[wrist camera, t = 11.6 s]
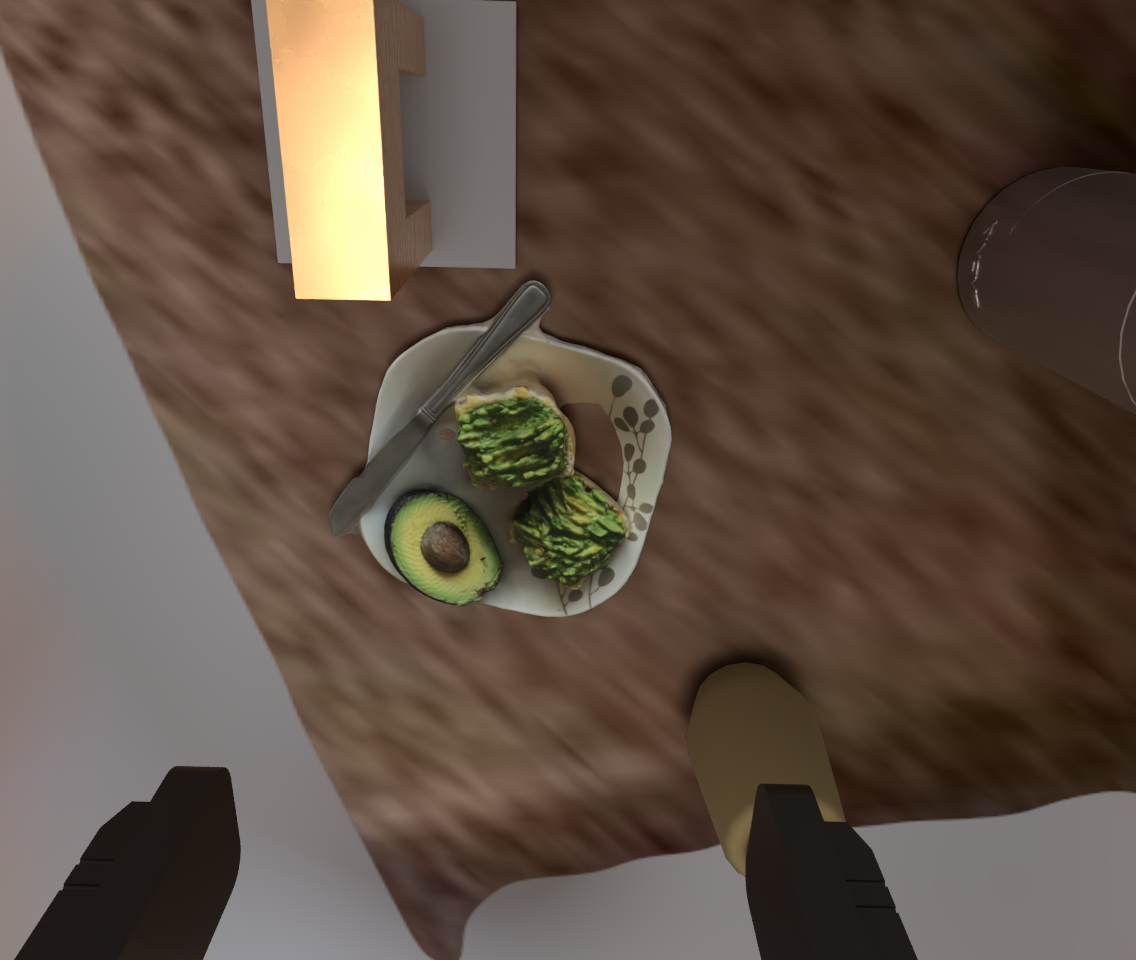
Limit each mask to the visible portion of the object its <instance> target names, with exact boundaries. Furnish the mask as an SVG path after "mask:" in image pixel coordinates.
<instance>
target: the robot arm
mask: <svg viewBox="0 0 1136 960" xmlns="http://www.w3.org/2000/svg"><path fill="white" fill-rule="evenodd" d="M957 279H958V288H959V296H960V298H961V301H962V304H963V307H964V309H965V312H966V313H967V315H968V316H969V318H970V319H971V320H972V322H973V323H974V325H975V326H976V327H977V328H979V329H980V330H981V331H982V332H983V333H984V334H985V335H987V336H988V337H990V338H992V339H994V340H996V341H998V342H1000V343H1001V344H1003V345H1005V346H1007V347H1009V348H1011V349H1013V350H1015V351H1016V352H1018V353H1020V354H1022V355H1024V356H1026V357H1027V358H1029V359H1031V360H1033V361H1035V362H1036V363H1038V364H1040V365H1042V366H1044V367H1046V368H1048V369H1050V370H1052V371H1054V372H1056V373H1057V374H1059V375H1061V376H1063V377H1065V378H1067V379H1069V380H1071V381H1073V382H1075V383H1077V384H1078V385H1080V386H1082V387H1084V388H1086V389H1088V390H1090V391H1092V392H1094V393H1096V394H1097V395H1099V396H1101V397H1103V398H1105V399H1107V400H1109V401H1111V402H1113V403H1115V404H1117V405H1118V406H1120V407H1122V408H1124V409H1126V410H1128V411H1130V412H1132V413H1134V414H1136V174H1130V173H1125V172H1116V171H1107V170H1098V169H1089V168H1080V167H1056V168H1051V169H1045V170H1040V171H1038V172H1035V173H1033V174H1030V175H1028V176H1025V177H1023V178H1021V179H1019V180H1018V181H1016V182H1014V183H1013V184H1011V185H1010V186H1008V187H1006V188H1005V189H1003V190H1002V191H1001V192H1000V193H999V194H998V195H997V196H996V197H995V198H994V199H992V200H991V201H990V202H989V203H988V204H987V205H986V207H985V208H984V209H983V211H982V212H981V213H980V214H979V216H978V217H977V218H976V220H975V221H974V223H973V225H972V227H971V229H970V231H969V232H968V234H967V236H966V238H965V241H964V244H963V247H962V251H961V254H960V257H959V265H958V275H957ZM240 847H241V846H240V837H239V831H238V823H237V816H236V809H235V802H234V797H233V789H232V783H231V776H230V773H229V771H228V769H227V768H224V767H192V766H191V767H190V766H175V767H173V768H172V769H171V770H170V771H169V772H168V774H167V775H166V777H165V778H164V780H163V781H162V783H161V785H160V786H159V788H158V790H157V791H156V793H155V795H154V796H153V798H152V800H151V801H150V802H134V801H132V802H131V803H130V804H128V805H127V806H126V807H125V808H123V809H122V810H121V811H120V812H119V813H117V814H116V815H115V816H114V817H113V818H111V819H110V820H109V821H108V822H107V823H105V824H104V825H103V826H102V827H101V828H100V829H99V830H98V832H97V834H96V835H95V837H94V838H93V840H92V841H91V843H90V844H89V846H88V847H87V849H86V850H85V852H84V853H83V855H82V857H81V858H80V863H79V865H76V866H75V867H74V869H73V870H72V872H71V873H70V875H69V877H68V878H67V880H66V881H65V883H64V887H63V890H60V891H59V892H58V893H57V895H56V897H55V898H54V899H53V901H52V903H51V904H50V906H49V907H48V909H47V910H46V912H45V914H44V915H43V916H42V918H41V920H40V921H39V922H38V924H37V926H36V927H35V929H34V930H33V932H32V933H31V935H30V936H29V938H28V939H27V941H26V942H25V944H24V946H23V947H22V949H21V950H20V952H19V953H18V955H17V956H16V958H15V959H14V960H203V958H204V956H205V953H206V951H207V949H208V946H209V944H210V942H211V939H212V937H213V935H214V932H215V930H216V928H217V925H218V923H219V921H220V918H221V916H222V914H223V911H224V909H225V907H226V905H227V902H228V900H229V898H230V895H231V893H232V890H233V888H234V885H235V881H236V878H237V875H238V870H239V864H240V853H241V852H240V851H241V848H240ZM745 877H746V891H747V898H748V903H749V908H750V913H751V917H752V921H753V925H754V930H755V934H756V939H757V943H758V947H759V951H760V956H761V960H918V959H917V957H916V954H915V952H914V950H913V947H912V945H911V943H910V940H909V938H908V935H907V933H906V930H905V928H904V926H903V923H902V921H901V918H900V916H899V914H898V913H896V910H895V907H896V906H895V904H894V902H893V899H892V897H891V895H890V892H889V890H888V887H885V880H884V878H883V875H882V873H881V870H880V868H879V866H878V863H877V861H876V858H875V856H874V853H873V851H872V849H871V848H870V847H869V846H868V845H867V844H866V843H865V842H864V840H863V839H862V838H861V837H860V836H859V835H858V834H857V833H856V832H855V830H854V829H853V828H852V827H851V826H850V825H849V824H848V823H847V822H831V821H824V819H823V817H822V814H821V811H820V809H819V806H818V803H817V800H816V798H815V795H814V792H813V790H812V788H811V787H810V786H809V785H803V784H765V783H761V784H759V785H758V787H757V791H756V796H755V802H754V809H753V815H752V822H751V828H750V835H749V841H748V848H747V854H746V865H745Z"/></svg>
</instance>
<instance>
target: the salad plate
mask: <svg viewBox="0 0 1136 960" xmlns="http://www.w3.org/2000/svg"><path fill="white" fill-rule="evenodd" d="M551 299H552V297H551V294H550V292H549V290H548V288H547V287H546V286H545V285H543V284H542V283H541V282H539V281H537V280H531V281H528V282H525V283H524V284H523V285H522V286H521V287H520V288H519V289H518V290H517V291H516V293H515V294H514V295H513V296H512V297H511V298H510V300H509V301H508V302H507V303H506V305H505V306H504V307H503V308H502V309H501V311H500V312H499V313H498V314H496V315H495V316H494V317H493V318H492V319H490V320H488V321H485V322H483V323H474V324H470V325H458V326H453V327H446V328H445V329H442V330H440V331H438V332H437V333H434V334H432V335H430V336H428V337H426V338H424V339H423V340H421V341H419V342H418V343H416V344H415V345H413V346H412V347H410V348H409V349H408V350H406V351H404V352H403V353H402V354H400V355H399V356H398V357H397V359H396V360H395V361H394V362H393V363H392V364H391V365H390V367H389V368H388V370H387V372H386V374H385V377H384V380H383V383H382V385H381V388H380V391H379V395H378V399H377V403H376V410H375V416H374V422H373V426H372V432H371V436H370V443H369V451H368V461H367V464H366V467H365V469H364V471H363V472H362V474H360V475H359V476H358V477H356V478H353V479H352V480H351V481H350V483H349V484H348V485H347V486H346V488H345V489H344V490H343V492H342V493H341V495H340V497H339V498H338V499H337V501H336V503H335V504H334V506H333V508H332V510H331V512H330V514H329V516H328V520H329V524H330V526H331V531H332V536H340V537H343V536H345V535H346V534H348V533H351V534H356V535H358V536H359V537H360V538H361V539H362V540H363V541H364V543H365V544H366V545H367V547H368V548H369V549H370V551H371V553H372V554H373V556H374V557H375V558H376V560H377V561H378V562H379V563H380V564H381V565H382V567H383V568H385V569H386V570H387V571H388V572H389V573H390V574H392V575H393V576H395V577H396V578H398V579H399V580H401V581H402V582H404V583H407V584H409V585H410V586H412V587H413V588H414V589H415V590H417V591H418V592H420V593H422V594H423V595H425V596H427V597H429V598H431V599H434V600H436V601H439V602H443V603H446V604H451V605H459V606H464V605H468V604H469V603H471V602H475V603H479V604H486V605H492V606H495V607H497V608H501V609H508V610H513V611H517V612H521V613H526V614H531V615H538V616H546V617H569V616H574V615H578V614H581V613H583V612H586V611H589V610H591V609H593V608H594V607H596V606H597V605H599V604H601V603H602V602H604V601H606V600H607V599H608V598H610V597H611V596H613V595H615V594H616V593H617V592H618V591H619V590H620V589H621V588H622V587H623V586H624V585H625V584H626V583H627V580H628V579H629V577H630V575H631V574H632V572H633V571H634V569H635V567H636V565H637V562H638V559H639V556H640V554H641V551H642V549H643V545H644V542H645V540H646V536H647V532H648V528H649V524H650V520H651V517H652V514H653V511H654V508H655V505H656V501H657V497H658V493H659V490H660V488H661V485H662V484H663V482H664V473H665V471H666V466H667V461H668V455H669V451H670V446H671V441H672V435H671V426H670V423H669V420H668V416H667V410H666V405H665V403H664V402H663V401H662V399H661V398H660V396H659V394H658V393H657V391H656V389H655V387H654V386H653V385H652V383H651V381H650V380H649V378H648V376H647V375H646V373H645V372H644V371H643V370H642V369H641V368H639V367H637V366H635V365H633V364H631V363H629V362H627V361H625V360H622V359H619V358H616V357H613V356H610V355H607V354H604V353H602V352H599V351H597V350H594V349H590V348H588V347H585V346H581V345H576V344H572V343H568V342H564V341H561V340H559V339H557V338H555V337H552V336H550V335H548V334H546V333H543V332H542V331H541V329H540V327H539V325H540V321H541V318H542V317H543V315H544V314H545V313H546V312H547V311H548V310H549V308H550V304H551ZM568 403H596V404H600V405H601V406H602V408H603V409H604V411H605V412H606V413H607V415H608V416H609V417H610V419H611V421H612V423H613V425H614V427H615V429H616V433H617V435H618V438H619V440H620V443H621V447H622V454H623V464H624V469H623V477H622V483H621V489H620V494H619V497H618V500H617V502H616V501H615V500H614V499H613V498H612V497H611V496H609V495H608V494H607V493H606V492H605V491H603V490H602V489H601V488H600V487H599V486H597V485H596V484H595V483H594V482H593V481H591V480H590V479H588V478H587V477H586V476H584V475H583V474H581V473H579V472H577V471H576V470H574V459H575V443H576V441H575V434H574V429H573V427H572V425H571V423H570V421H569V420H568V418H567V417H566V416H565V415H564V414H563V413H562V412H561V410H560V408H561V407H562V406H563V405H565V404H568ZM444 429H451V430H453V431H454V432H455V437H454V438H453V439H452V440H450V441H445V440H443V439H441V438H440V432H441V431H442V430H444ZM527 492H528V493H529V497H528V498H527V499H526V500H525V501H521V497H522V495H523V494H525V493H527Z"/></svg>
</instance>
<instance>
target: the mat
mask: <svg viewBox="0 0 1136 960" xmlns="http://www.w3.org/2000/svg"><path fill="white" fill-rule="evenodd" d="M399 1H401V2H402V3H404V4H405V5H407V6H408V7H409V8H411V9H412V10H414V11H415V12H416V13H418V14H419V15H421V16H422V17H423V18H424V35H425V61H426V76H424V75H399V91H400V112H401V132H402V152H403V173H404V193H405V200H431V220H432V246H433V250H432V251H431V253H430V254H429V255H428V256H427V257H426V259H425V260H424V261H423V262H422V263H421V265H420V266H427V267H468V268H509V269H515V268H516V15H517V3H516V2H515V1H485V0H399ZM251 4H252V13H253V23H254V33H255V43H256V52H257V62H258V72H259V82H260V91H261V101H262V111H263V121H264V130H265V140H266V150H267V160H268V169H269V179H270V189H271V199H272V208H273V218H274V228H275V238H276V247H277V257H278V263H292V255H291V245H290V235H289V225H288V215H287V206H286V196H285V186H284V176H283V166H282V156H281V146H280V136H279V126H278V116H277V106H276V96H275V86H274V76H273V66H272V56H271V46H270V36H269V26H268V16H267V7H266V0H251Z"/></svg>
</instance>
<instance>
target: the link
mask: <svg viewBox="0 0 1136 960" xmlns="http://www.w3.org/2000/svg"><path fill="white" fill-rule="evenodd" d="M266 7H267V16H268V26H269V36H270V46H271V56H272V66H273V76H274V86H275V96H276V106H277V116H278V126H279V136H280V146H281V156H282V166H283V176H284V186H285V196H286V206H287V215H288V225H289V235H290V245H291V255H292V265H293V275H294V285H295V295H296V299H343V300H391V299H392V298H393V297H394V296H395V294H396V293H397V292H398V291H399V290H400V288H401V287H402V286H403V285H404V284H405V282H406V281H407V280H408V279H409V278H410V276H411V275H412V274H413V273H414V272H415V271H416V269H417V268H418V267H419V266H420V265H421V263H422V262H423V261H424V260H425V259H426V257H427V256H428V255H429V254H430V253H431V251H432V250H433V246H432V220H431V200H405V193H404V173H403V152H402V132H401V112H400V91H399V75H424V76H426V61H425V35H424V18H423V17H422V16H421V15H419V14H418V13H416V12H415V11H414V10H412V9H411V8H409V7H408V6H407V5H405V4H404V3H402V2H401V1H399V0H266Z"/></svg>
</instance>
